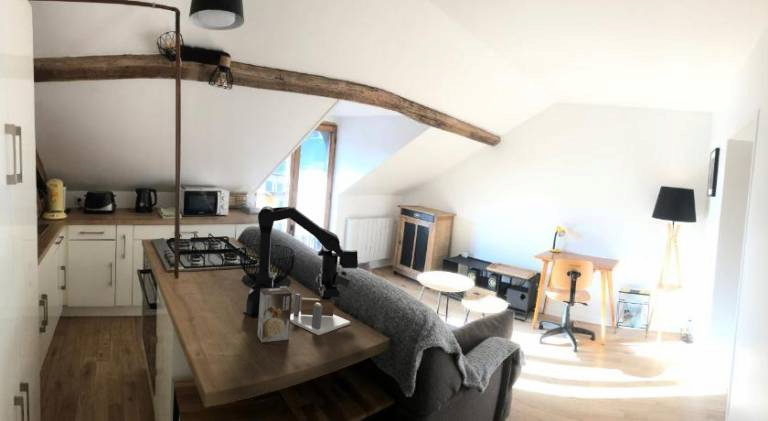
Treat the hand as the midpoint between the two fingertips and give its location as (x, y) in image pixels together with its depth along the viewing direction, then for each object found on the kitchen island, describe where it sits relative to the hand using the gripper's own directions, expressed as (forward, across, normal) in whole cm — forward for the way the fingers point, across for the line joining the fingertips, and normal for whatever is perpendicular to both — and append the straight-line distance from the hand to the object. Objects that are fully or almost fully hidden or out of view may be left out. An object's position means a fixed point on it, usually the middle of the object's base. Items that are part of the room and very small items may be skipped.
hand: (325, 306), depth 173 cm
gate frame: (+4, -5, +4) cm, 7 cm away
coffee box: (+3, -18, +20) cm, 28 cm away
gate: (+2, -3, +4) cm, 5 cm away
